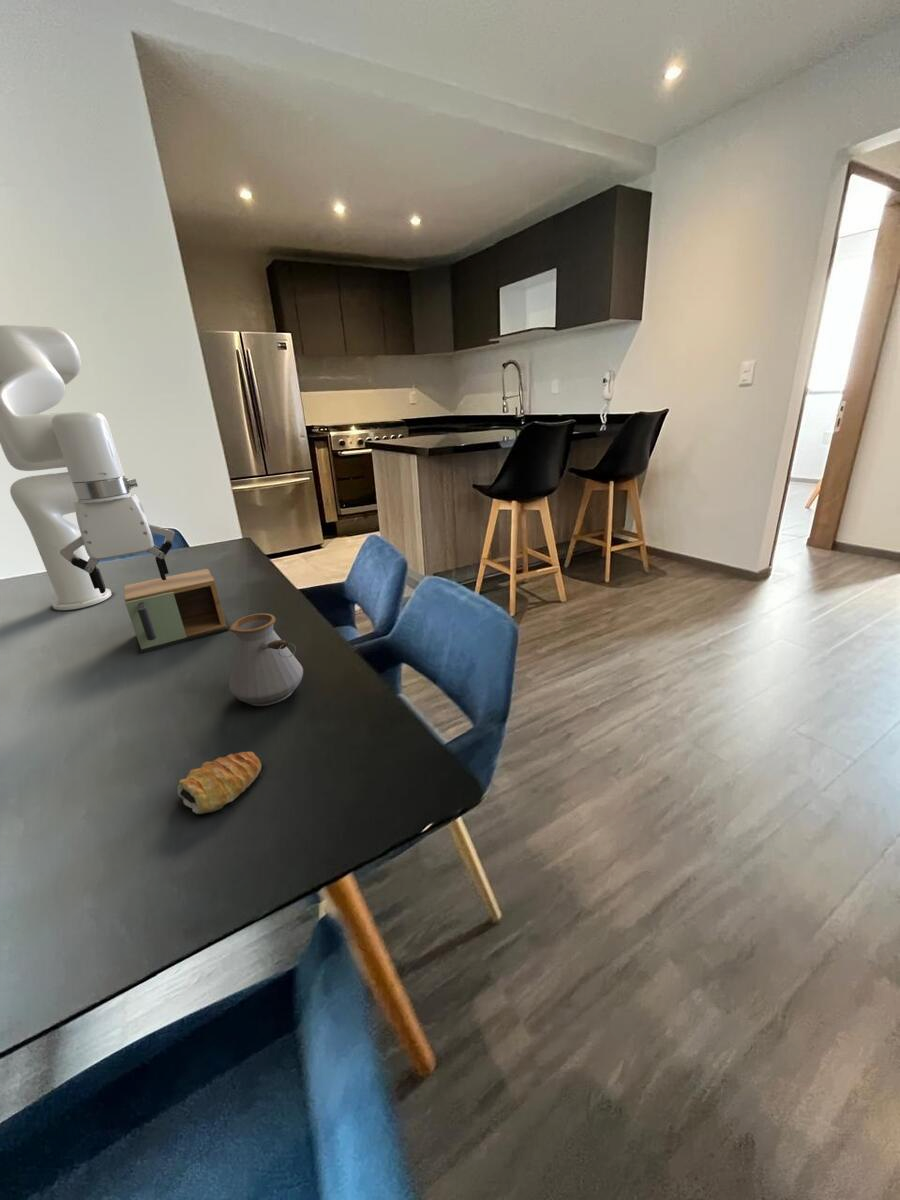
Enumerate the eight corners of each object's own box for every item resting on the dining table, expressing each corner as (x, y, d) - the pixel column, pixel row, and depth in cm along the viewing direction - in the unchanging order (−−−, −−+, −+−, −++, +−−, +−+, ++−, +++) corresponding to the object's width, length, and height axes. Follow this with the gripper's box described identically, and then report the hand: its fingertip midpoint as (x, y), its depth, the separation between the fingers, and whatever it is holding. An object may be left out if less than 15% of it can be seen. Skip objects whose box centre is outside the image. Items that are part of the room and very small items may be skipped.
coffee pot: (224, 691, 82) (201, 609, 76) (291, 666, 88) (274, 589, 82) (266, 757, 66) (241, 659, 60) (344, 721, 72) (328, 630, 66)
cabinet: (228, 630, 104) (215, 581, 100) (142, 652, 97) (124, 601, 93) (219, 613, 113) (207, 568, 109) (140, 632, 106) (124, 585, 101)
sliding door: (189, 645, 97) (175, 598, 93) (141, 658, 93) (125, 610, 90) (186, 636, 101) (173, 591, 97) (141, 648, 97) (125, 602, 93)
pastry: (243, 755, 66) (237, 732, 65) (274, 774, 63) (268, 750, 61) (175, 801, 59) (166, 776, 58) (205, 825, 56) (197, 799, 54)
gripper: (158, 480, 90) (184, 569, 97) (42, 495, 82) (79, 590, 88) (161, 485, 84) (188, 578, 91) (36, 501, 76) (75, 602, 83)
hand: (134, 584), depth 90 cm, fingers open, 9 cm apart
